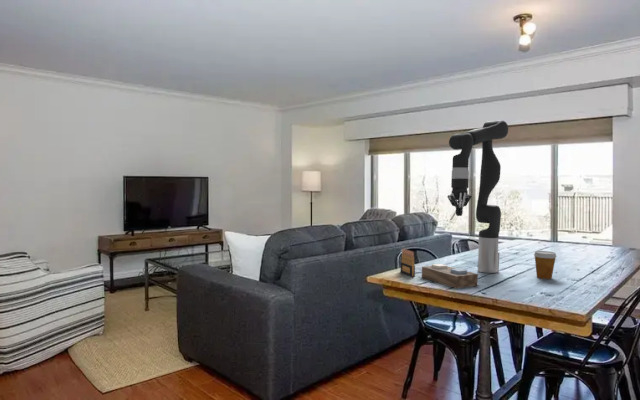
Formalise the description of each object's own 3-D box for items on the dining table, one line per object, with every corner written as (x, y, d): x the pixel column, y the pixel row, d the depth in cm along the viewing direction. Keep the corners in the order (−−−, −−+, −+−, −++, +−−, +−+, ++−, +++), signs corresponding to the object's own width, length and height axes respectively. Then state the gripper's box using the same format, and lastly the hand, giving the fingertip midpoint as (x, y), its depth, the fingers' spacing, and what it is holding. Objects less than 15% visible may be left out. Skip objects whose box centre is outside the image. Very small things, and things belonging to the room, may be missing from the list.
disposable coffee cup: (554, 276, 208) (555, 251, 207) (556, 280, 199) (557, 254, 199) (532, 274, 212) (533, 250, 211) (533, 278, 203) (534, 252, 203)
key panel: (441, 275, 207) (442, 264, 207) (477, 285, 188) (477, 274, 187) (421, 277, 202) (422, 266, 202) (456, 288, 182) (456, 276, 182)
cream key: (439, 272, 203) (440, 263, 203) (447, 274, 199) (447, 265, 199) (431, 273, 201) (432, 264, 201) (439, 275, 197) (439, 266, 196)
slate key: (458, 277, 192) (459, 268, 192) (466, 279, 188) (467, 270, 188) (450, 278, 190) (450, 269, 190) (458, 280, 186) (458, 271, 186)
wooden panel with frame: (414, 276, 203) (415, 251, 203) (411, 277, 203) (412, 251, 202) (403, 272, 213) (404, 247, 213) (400, 272, 213) (400, 247, 212)
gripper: (464, 178, 205) (463, 214, 206) (443, 177, 199) (442, 215, 200) (477, 178, 199) (475, 216, 199) (455, 177, 193) (454, 216, 193)
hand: (459, 215), depth 200 cm, fingers closed
